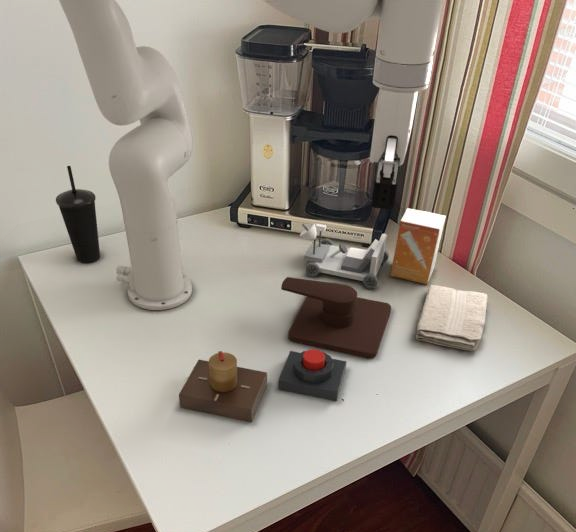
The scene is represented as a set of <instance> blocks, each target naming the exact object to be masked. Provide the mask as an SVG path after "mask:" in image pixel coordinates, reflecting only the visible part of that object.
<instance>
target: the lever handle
mask: <svg viewBox="0 0 576 532" xmlns="http://www.w3.org/2000/svg"><path fill="white" fill-rule="evenodd" d="M280 290H282V291H285V292H288V293H292V294H296V295H300V296H302V297H303V296H304V297H305V299H304V301H303V303H302V305H301V307H300V309H299V311H298V312H297V314H296V317H295V318H294V320H293V322H292V324H291V326H290V328H289V330H288V335H287V336H288V338H287V339H288V341H289V342H292V343H295V344H298V345H303V346H309V347H313V348H316V349H322V350H326V351H331V352H336V353H341V354H345V355H349V356H354V357H359V358H364V359H375V358H376V357H377V355H378V352H379V349H380V347H381V343H382V341H383V337H384V334H385V331H386V328H387V325H388V321H389V318H390V315H391V311H392V306H391V304H389V303H388V302H384V301H380V300H374V299H369V298H364V297H358V292H357V290H356V289H355V288H354V287H352V286H351V285H348V284H345V283H340V282H339V283H338V282H329V281H322V280H315V279H306V278H300V277H299V278H298V277H291V276H287V277H286V278H284V280H283V281H282V282H281V286H280Z"/></svg>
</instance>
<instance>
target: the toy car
mask: <svg viewBox="0 0 576 532" xmlns="http://www.w3.org/2000/svg"><path fill="white" fill-rule="evenodd" d="M301 226H302V227H303V228H304V229H303V230H302V231H301V233H300V234H299V237H301V238H303V239H305V240H308V241H312V242H311V243H310V245H309V247H308V248H307V250H306V252H305V253H304V255H303V260H304V261H309V262H308V263H307V264H306V266H305V269H304V270H305V273H306V275H307V276H309V277H312V278H314V277H318V275H319V274H320V273H322V274H326V275H331V276H336V277H341V278H345V279H351V280H356V281H361V282H362V284H363V286H364V287H365V288H367V289H370V290H371V289H372V290H373V289H375V288H377V286H378V284H379V279H378V277H377V275H378V272H379V270H380V268H381V266H382V264H384V263H386V262H388V260H389V258H390V254H389V253H388V251H387V250H386V244H387V239H388V238H387V237H388V234H387V233H381V236H380V238H379V240H378V239H376V238H375V239H374V240H373V241H372V243H371V244H370V245H369V246H368V248H367V249H362V248H357V247H352V246H351V247H350V248H348V247H347V246H346V244H345V243H341V244H339V245H334V241H333V240H331V239H330V238H323V239H322V232H326V230H327V225H326V224H321V223H315V222H312V223H311V224H309V225H308V226H306V224H304V223H302V224H301ZM317 231H319V233H318V232H317ZM317 233H318V234H317ZM317 235H319V237H318V242H317Z"/></svg>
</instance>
